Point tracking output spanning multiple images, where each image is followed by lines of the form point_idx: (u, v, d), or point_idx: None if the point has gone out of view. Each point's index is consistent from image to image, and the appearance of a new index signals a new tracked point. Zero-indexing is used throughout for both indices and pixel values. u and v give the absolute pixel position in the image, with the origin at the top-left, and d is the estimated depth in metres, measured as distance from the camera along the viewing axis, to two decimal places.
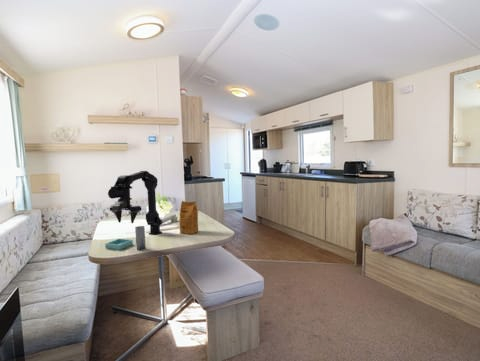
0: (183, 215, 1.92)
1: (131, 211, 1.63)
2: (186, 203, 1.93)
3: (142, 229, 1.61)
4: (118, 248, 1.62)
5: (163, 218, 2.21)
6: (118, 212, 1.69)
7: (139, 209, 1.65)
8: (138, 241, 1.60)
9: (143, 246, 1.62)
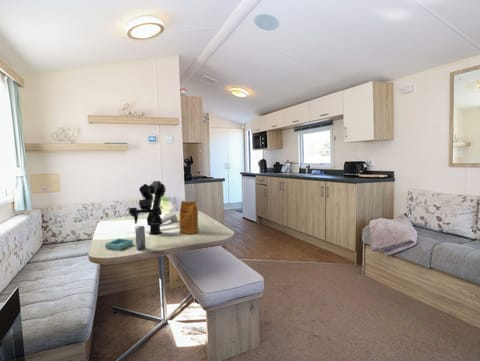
0: (183, 215, 1.92)
1: (155, 209, 1.72)
2: (186, 203, 1.93)
3: (142, 229, 1.61)
4: (118, 248, 1.62)
5: (163, 218, 2.21)
6: (136, 214, 1.73)
7: (161, 212, 1.76)
8: (138, 241, 1.60)
9: (143, 246, 1.62)
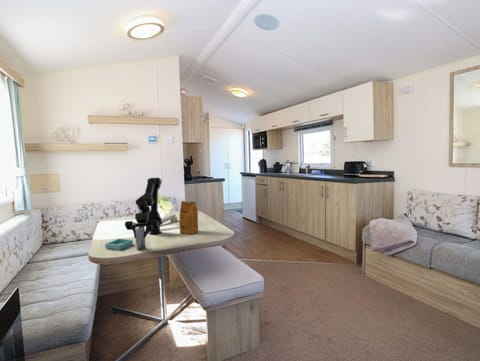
0: (183, 215, 1.92)
1: (152, 223, 1.64)
2: (186, 203, 1.93)
3: (142, 229, 1.61)
4: (118, 248, 1.62)
5: (163, 218, 2.21)
6: None
7: (158, 225, 1.68)
8: (138, 241, 1.60)
9: (143, 246, 1.62)
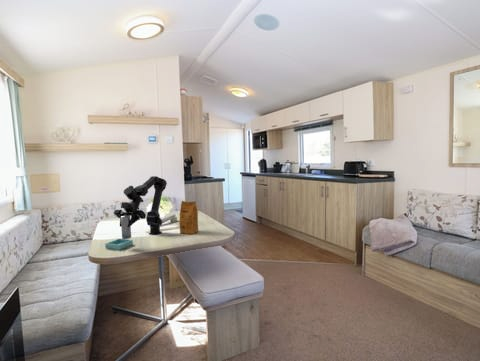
0: (183, 215, 1.92)
1: (137, 213, 1.64)
2: (186, 203, 1.93)
3: (126, 218, 1.62)
4: (118, 248, 1.62)
5: None
6: None
7: (144, 215, 1.66)
8: (122, 230, 1.62)
9: (127, 235, 1.63)
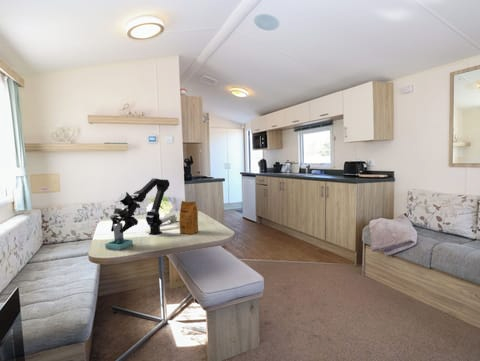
0: (183, 215, 1.92)
1: (128, 219, 1.66)
2: (186, 203, 1.93)
3: (118, 226, 1.65)
4: (118, 248, 1.62)
5: None
6: (116, 222, 1.72)
7: (135, 222, 1.68)
8: (114, 237, 1.66)
9: (119, 243, 1.66)
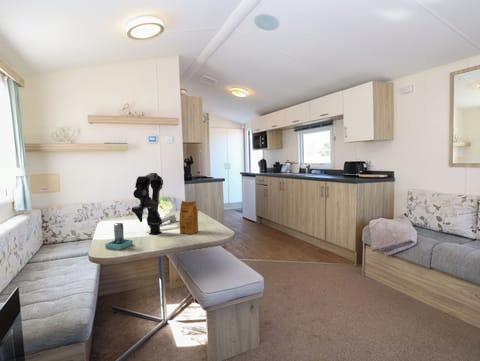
0: (183, 215, 1.92)
1: None
2: (186, 203, 1.93)
3: (118, 226, 1.66)
4: (118, 248, 1.62)
5: (162, 218, 2.20)
6: None
7: None
8: (115, 237, 1.66)
9: (119, 243, 1.66)
